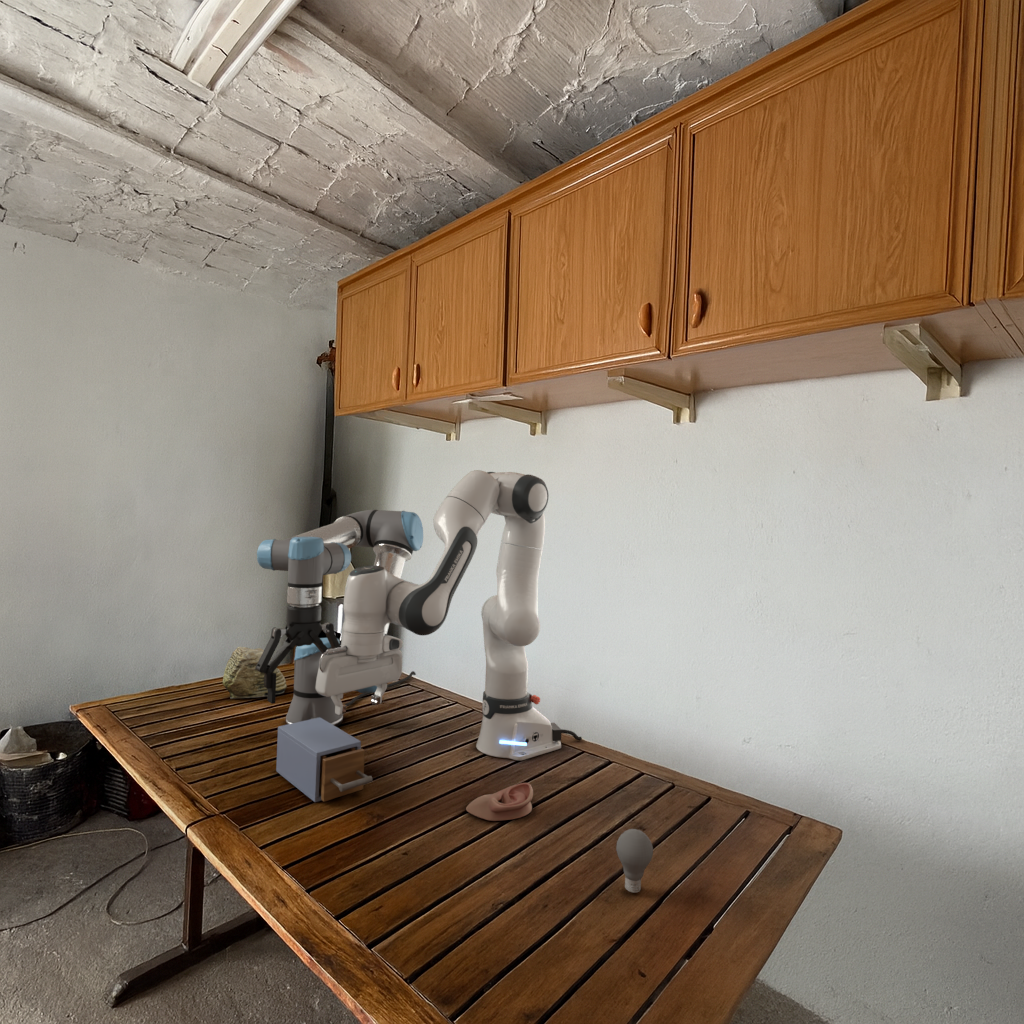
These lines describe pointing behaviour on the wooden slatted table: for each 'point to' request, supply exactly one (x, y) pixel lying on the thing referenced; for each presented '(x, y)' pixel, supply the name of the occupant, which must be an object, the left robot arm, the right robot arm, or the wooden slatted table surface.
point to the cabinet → (309, 752)
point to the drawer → (342, 773)
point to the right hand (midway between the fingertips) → (358, 708)
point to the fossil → (248, 675)
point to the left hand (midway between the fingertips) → (300, 696)
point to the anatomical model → (503, 803)
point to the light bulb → (634, 857)
